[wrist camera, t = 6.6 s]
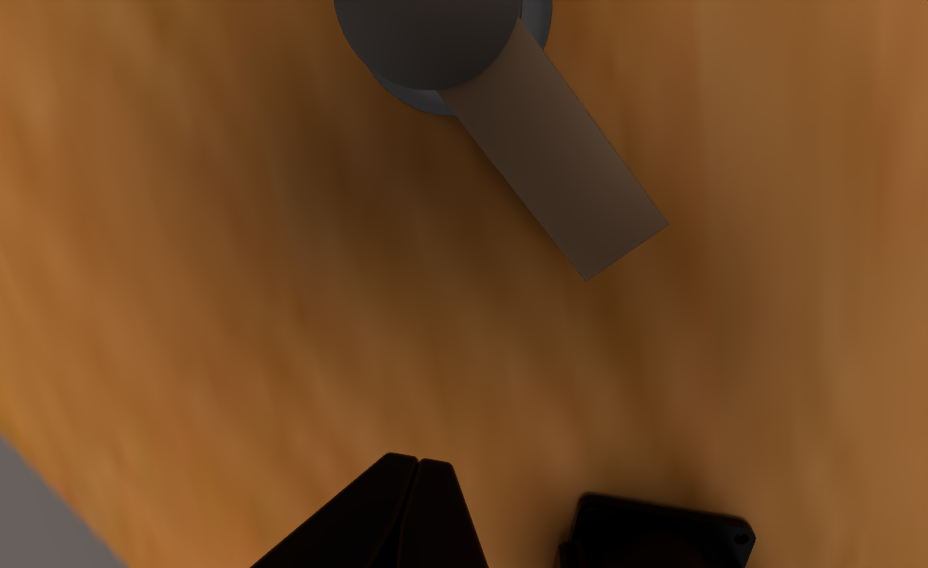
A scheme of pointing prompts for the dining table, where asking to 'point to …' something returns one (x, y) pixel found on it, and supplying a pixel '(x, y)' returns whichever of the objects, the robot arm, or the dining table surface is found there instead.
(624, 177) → the brown square bar
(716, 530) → the robot arm
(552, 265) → the dining table surface
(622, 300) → the dining table surface
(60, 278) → the dining table surface
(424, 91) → the pivot base
